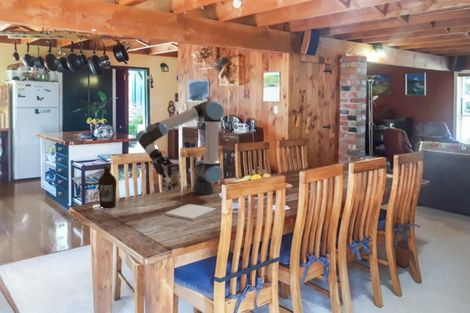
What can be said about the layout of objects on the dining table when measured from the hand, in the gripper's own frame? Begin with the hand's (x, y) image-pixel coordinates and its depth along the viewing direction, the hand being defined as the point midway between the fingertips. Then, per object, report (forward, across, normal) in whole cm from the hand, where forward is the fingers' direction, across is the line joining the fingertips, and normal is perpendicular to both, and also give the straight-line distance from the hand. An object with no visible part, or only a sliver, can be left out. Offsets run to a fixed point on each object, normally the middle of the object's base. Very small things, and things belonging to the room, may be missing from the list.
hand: (174, 180), depth 258 cm
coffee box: (+3, 0, -7) cm, 8 cm away
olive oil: (-13, +20, -38) cm, 45 cm away
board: (+22, +3, -3) cm, 23 cm away
